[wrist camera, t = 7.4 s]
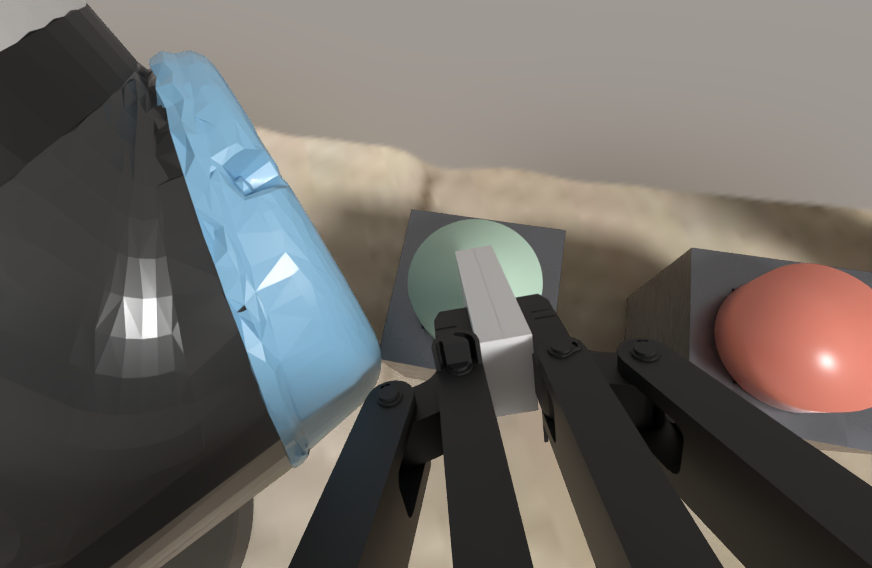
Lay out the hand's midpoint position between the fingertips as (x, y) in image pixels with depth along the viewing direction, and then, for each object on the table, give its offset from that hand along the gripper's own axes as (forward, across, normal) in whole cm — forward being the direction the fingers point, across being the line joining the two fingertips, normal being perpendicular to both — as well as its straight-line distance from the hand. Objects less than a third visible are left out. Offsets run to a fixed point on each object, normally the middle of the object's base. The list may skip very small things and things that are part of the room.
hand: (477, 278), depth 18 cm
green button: (+8, 0, -7) cm, 11 cm away
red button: (+5, +13, -11) cm, 18 cm away
